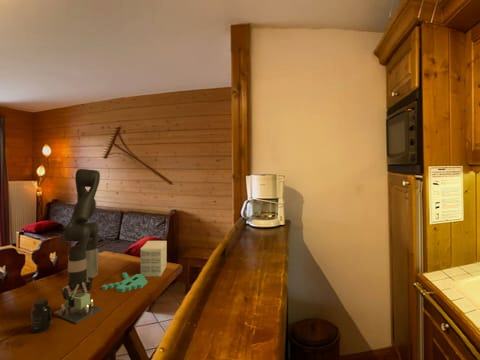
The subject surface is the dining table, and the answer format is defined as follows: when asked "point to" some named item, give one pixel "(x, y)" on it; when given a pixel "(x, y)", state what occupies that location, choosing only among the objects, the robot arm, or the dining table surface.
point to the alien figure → (128, 283)
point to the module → (80, 300)
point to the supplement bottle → (40, 316)
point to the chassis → (77, 312)
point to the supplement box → (153, 258)
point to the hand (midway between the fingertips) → (77, 303)
